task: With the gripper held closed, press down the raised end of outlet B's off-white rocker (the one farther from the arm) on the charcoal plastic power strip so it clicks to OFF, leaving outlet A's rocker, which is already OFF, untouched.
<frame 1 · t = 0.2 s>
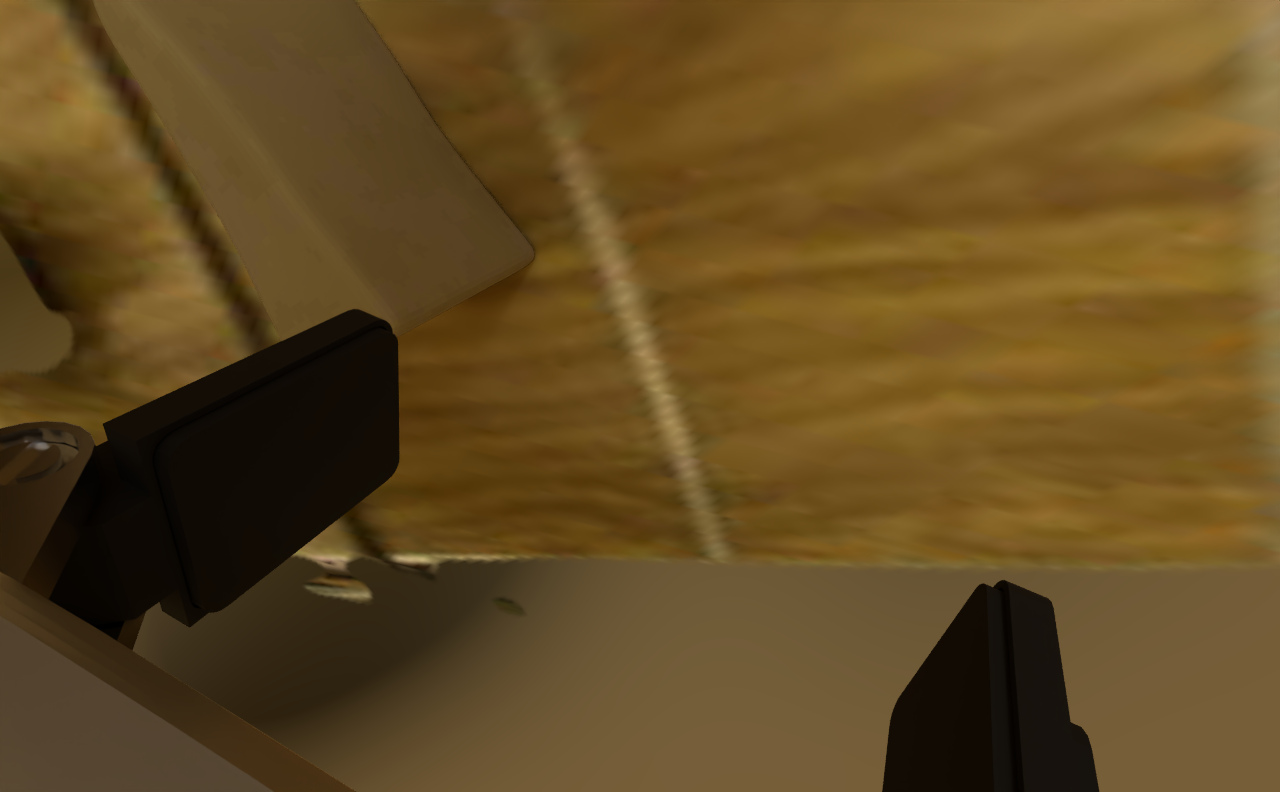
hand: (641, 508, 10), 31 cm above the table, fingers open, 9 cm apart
beige slab: (417, 136, 46), on the table
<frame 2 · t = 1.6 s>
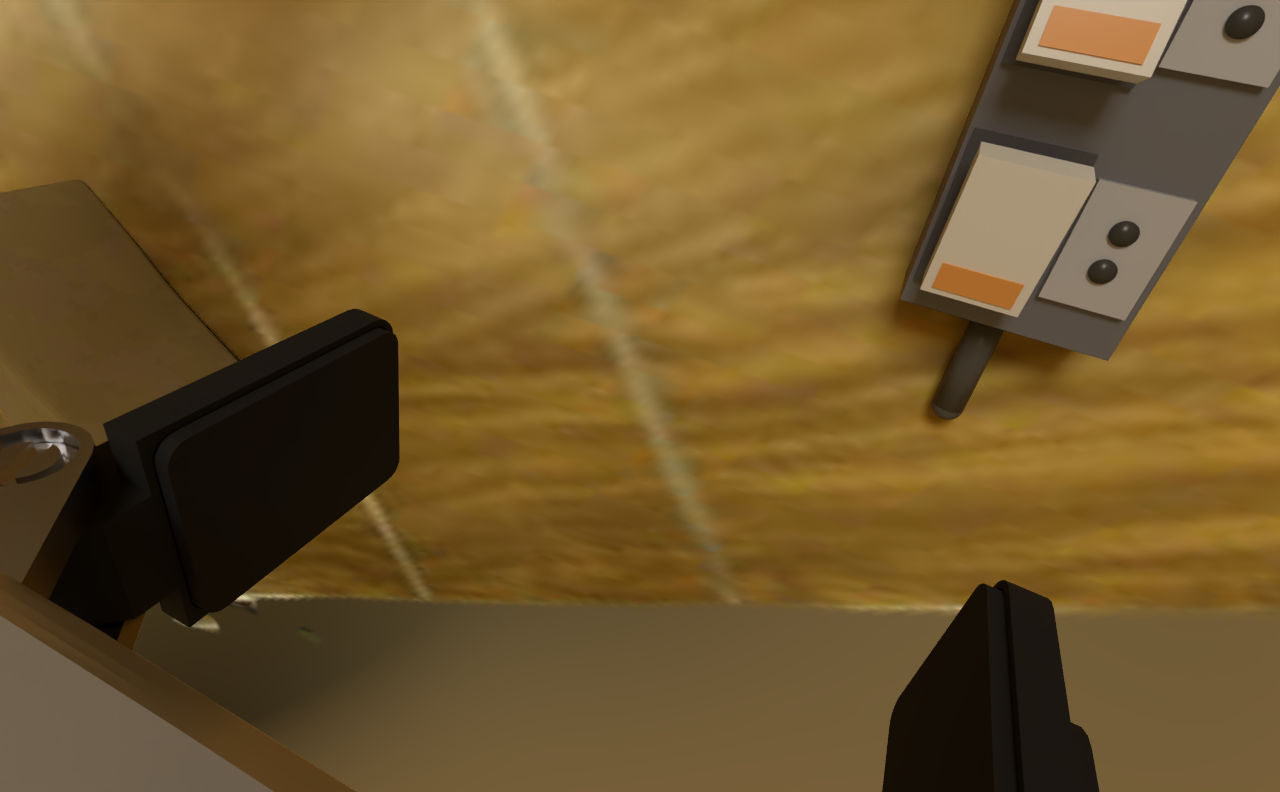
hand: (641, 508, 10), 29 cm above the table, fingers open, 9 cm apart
beige slab: (162, 291, 62), on the table
rocker B: (1000, 233, 27), point 6 cm above the table, hinge at 12.0°
power strip: (1088, 108, 29), on the table
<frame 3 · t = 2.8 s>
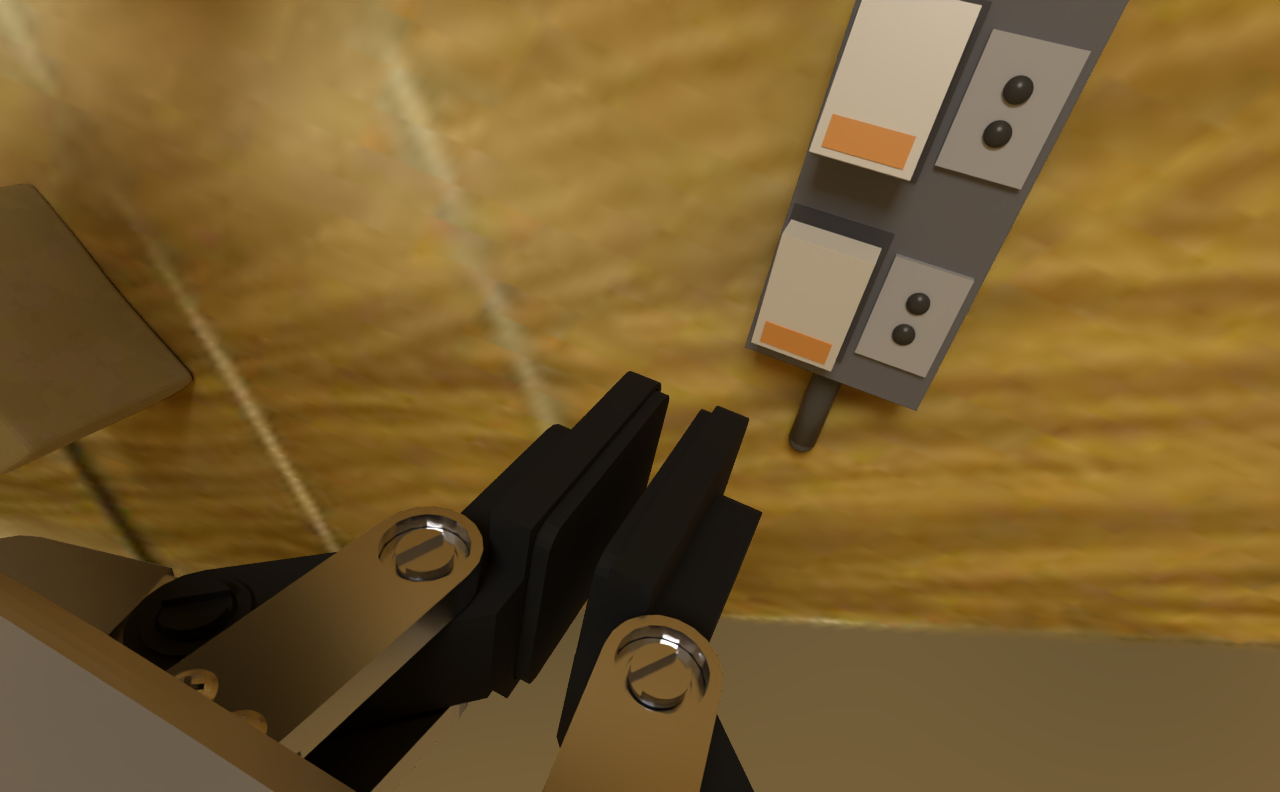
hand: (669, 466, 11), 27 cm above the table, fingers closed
beige slab: (109, 292, 64), on the table
rocker A: (890, 85, 25), point 6 cm above the table, hinge at -12.0°
rocker B: (811, 298, 30), point 6 cm above the table, hinge at 12.0°
power strip: (906, 185, 32), on the table
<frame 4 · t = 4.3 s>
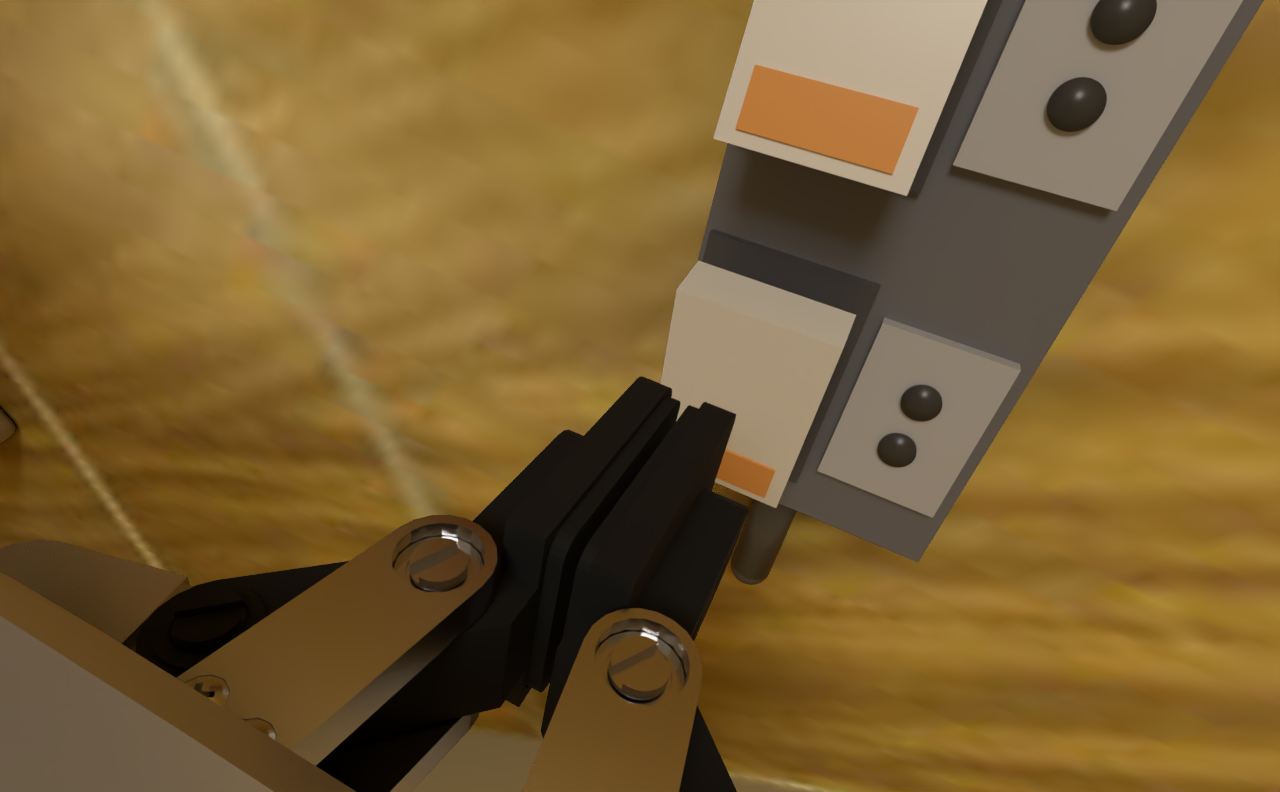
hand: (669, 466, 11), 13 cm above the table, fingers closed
rocker A: (866, 7, 13), point 6 cm above the table, hinge at -12.0°
rocker B: (739, 393, 18), point 6 cm above the table, hinge at 12.0°
power strip: (901, 198, 20), on the table
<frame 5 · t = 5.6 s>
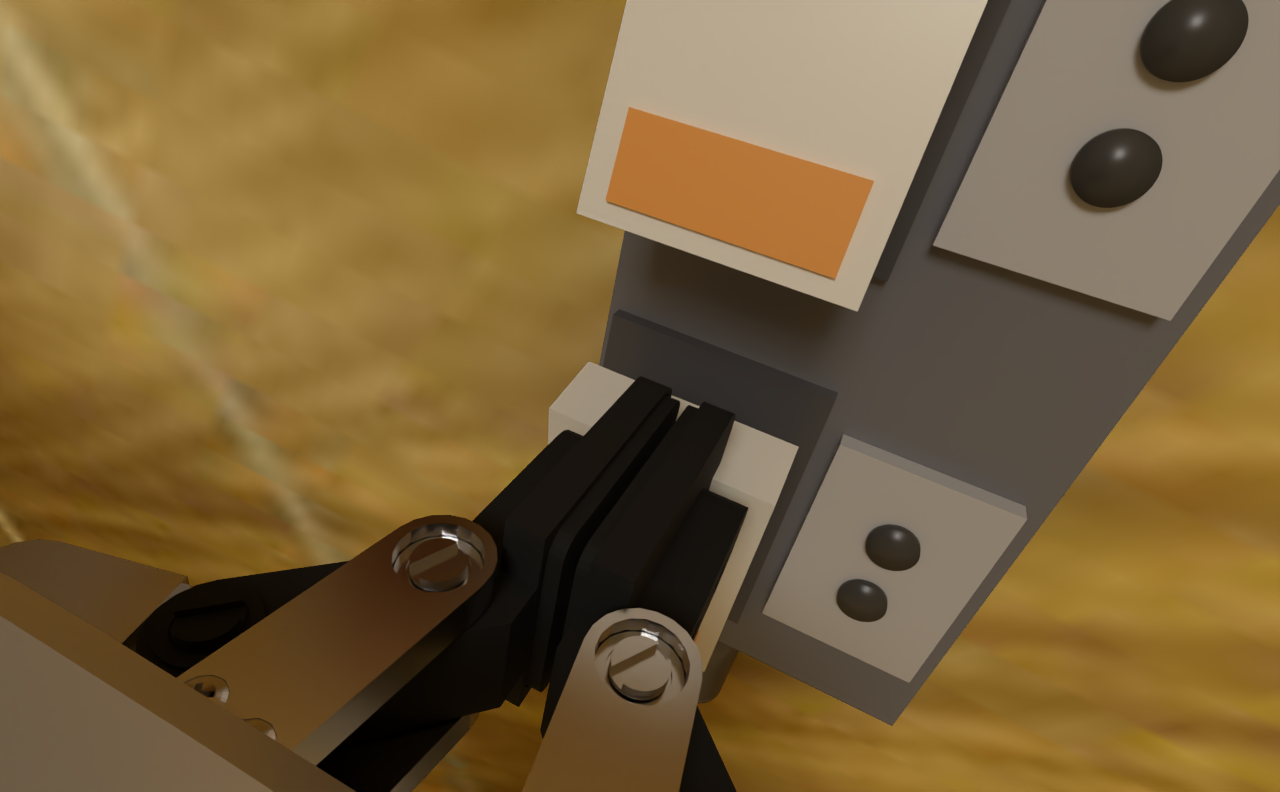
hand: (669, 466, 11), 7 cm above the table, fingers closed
rocker A: (797, 22, 8), point 6 cm above the table, hinge at -12.0°
rocker B: (650, 531, 13), point 6 cm above the table, hinge at 10.9°, touching gripper
power strip: (873, 261, 15), on the table
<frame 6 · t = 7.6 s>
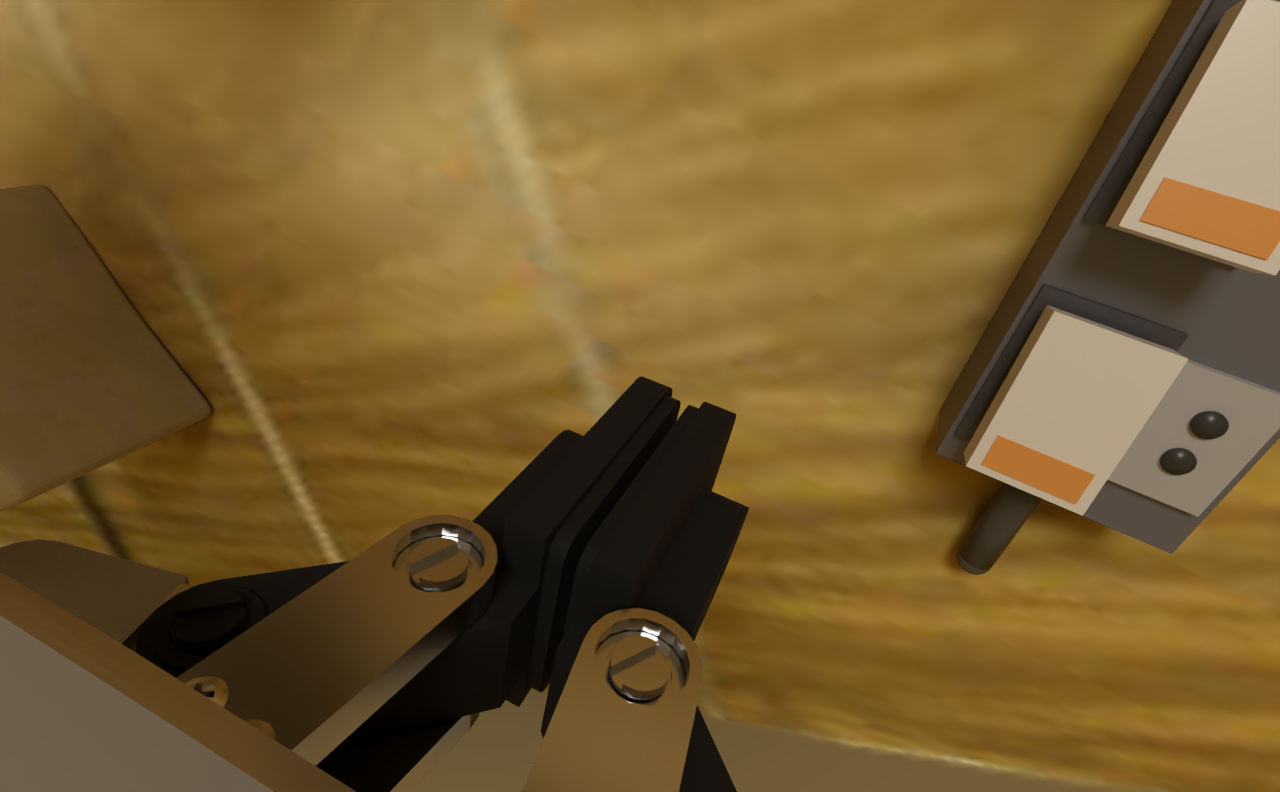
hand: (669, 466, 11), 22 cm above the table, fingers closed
beige slab: (124, 309, 57), on the table
rocker A: (1251, 142, 18), point 6 cm above the table, hinge at -12.0°
rocker B: (1065, 410, 23), point 6 cm above the table, hinge at -9.7°
power strip: (1169, 263, 25), on the table
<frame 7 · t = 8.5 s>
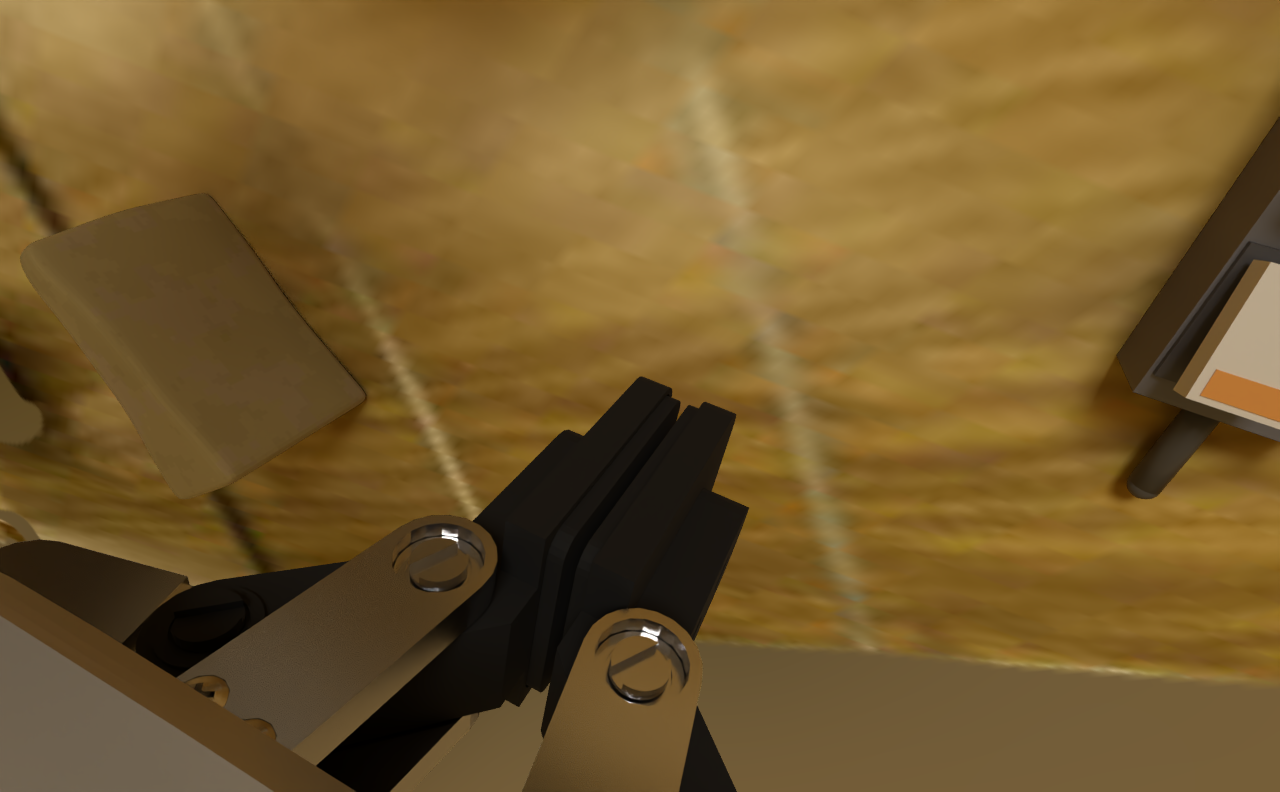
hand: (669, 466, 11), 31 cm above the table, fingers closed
beige slab: (279, 306, 62), on the table
rocker B: (1272, 346, 27), point 6 cm above the table, hinge at -12.8°
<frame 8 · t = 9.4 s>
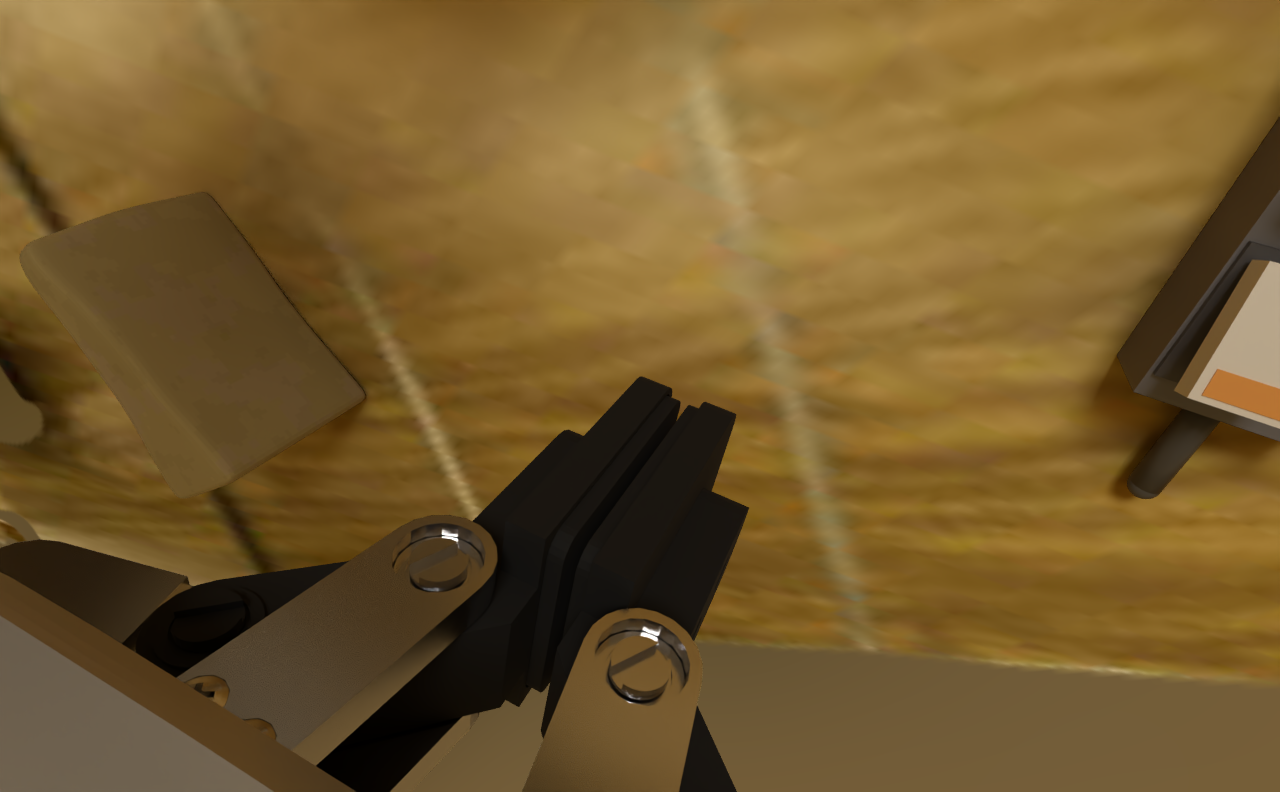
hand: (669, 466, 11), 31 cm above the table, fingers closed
beige slab: (278, 305, 62), on the table
rocker B: (1273, 346, 27), point 6 cm above the table, hinge at -14.9°
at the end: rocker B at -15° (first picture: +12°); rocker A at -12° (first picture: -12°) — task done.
